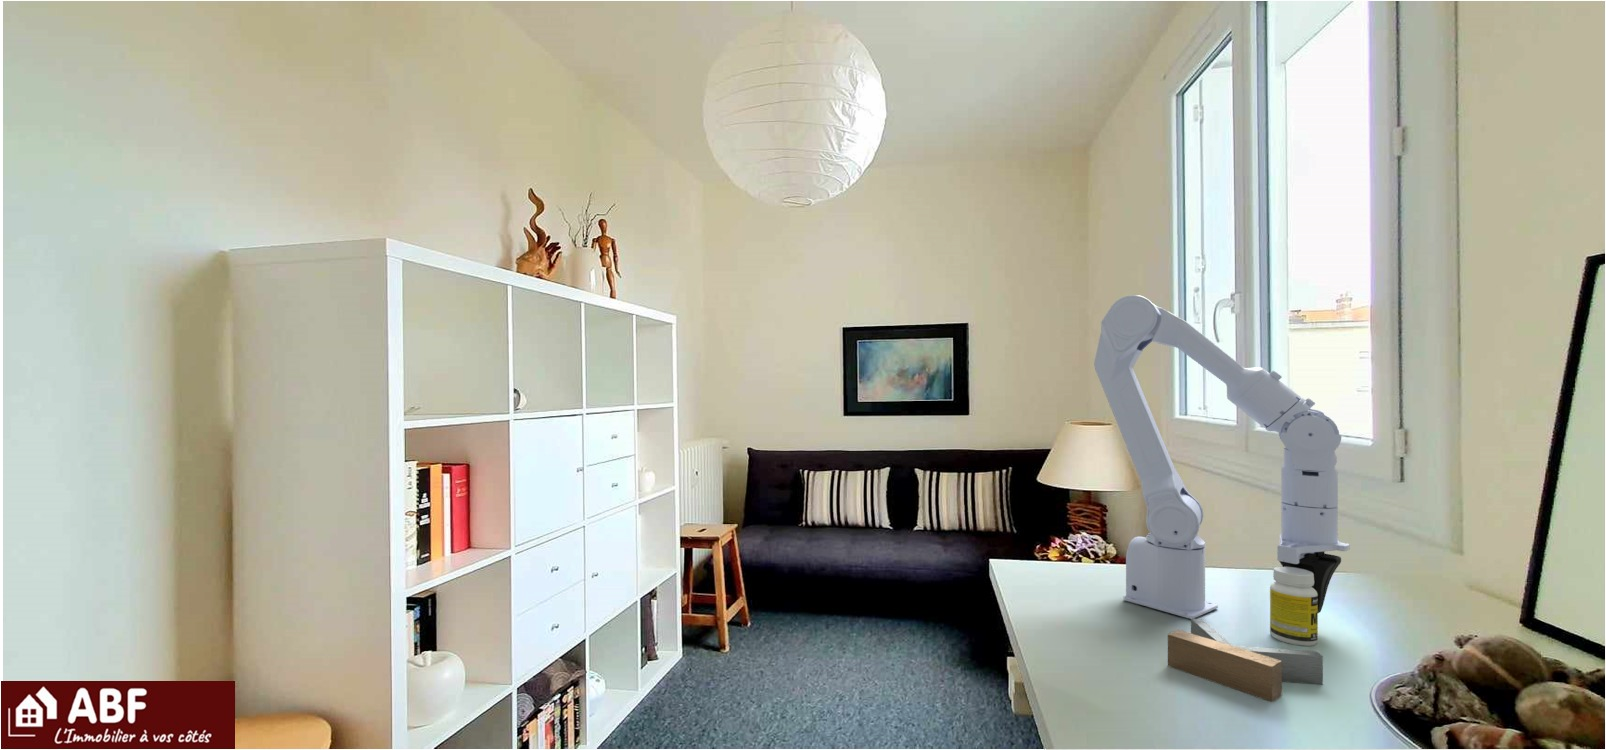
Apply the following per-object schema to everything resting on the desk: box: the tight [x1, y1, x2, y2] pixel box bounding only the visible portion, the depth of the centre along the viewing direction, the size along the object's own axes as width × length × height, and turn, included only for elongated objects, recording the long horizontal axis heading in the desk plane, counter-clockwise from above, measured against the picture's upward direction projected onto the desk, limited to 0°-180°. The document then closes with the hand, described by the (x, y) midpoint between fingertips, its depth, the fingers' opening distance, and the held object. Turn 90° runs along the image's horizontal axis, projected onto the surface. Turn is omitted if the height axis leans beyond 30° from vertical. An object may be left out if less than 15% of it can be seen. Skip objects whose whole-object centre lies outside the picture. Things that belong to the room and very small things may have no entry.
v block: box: [1167, 618, 1324, 703], centre depth 71 cm, size 13×10×4 cm
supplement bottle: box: [1269, 566, 1319, 647], centre depth 80 cm, size 5×5×8 cm
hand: (1309, 610), depth 83 cm, fingers closed
